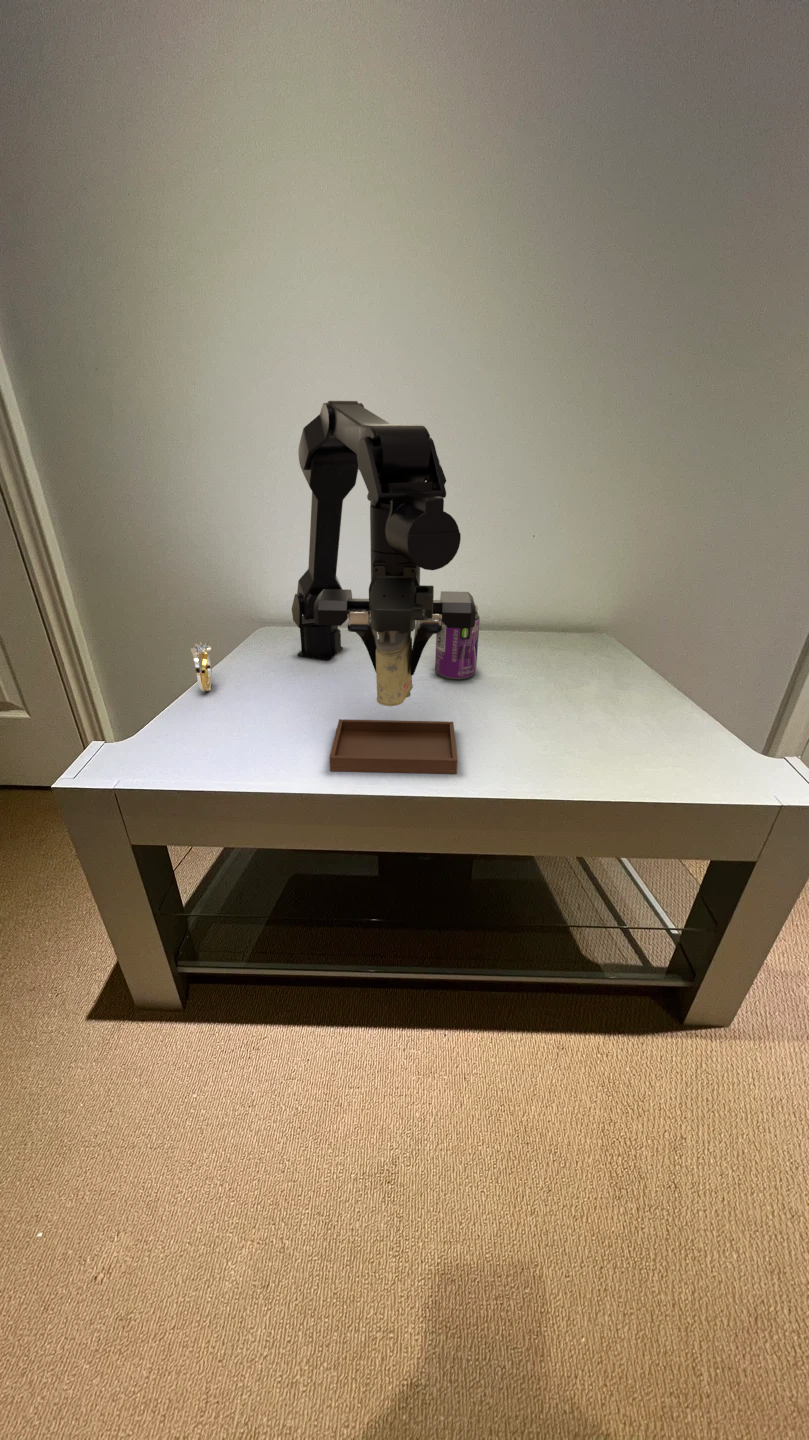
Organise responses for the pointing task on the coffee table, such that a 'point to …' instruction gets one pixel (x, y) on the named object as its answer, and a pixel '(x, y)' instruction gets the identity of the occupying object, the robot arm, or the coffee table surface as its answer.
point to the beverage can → (457, 651)
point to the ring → (203, 665)
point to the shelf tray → (394, 747)
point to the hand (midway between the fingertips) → (394, 673)
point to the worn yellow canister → (393, 667)
